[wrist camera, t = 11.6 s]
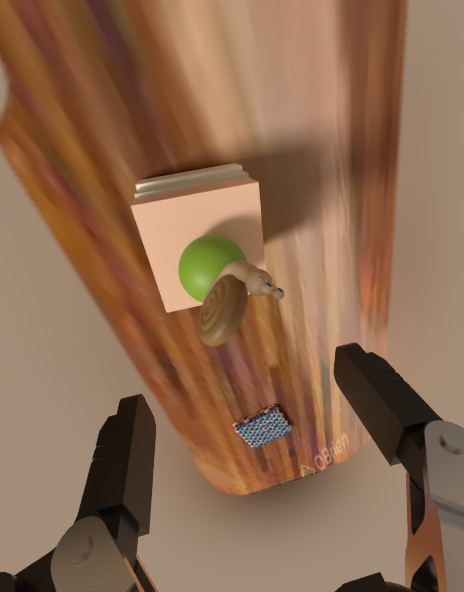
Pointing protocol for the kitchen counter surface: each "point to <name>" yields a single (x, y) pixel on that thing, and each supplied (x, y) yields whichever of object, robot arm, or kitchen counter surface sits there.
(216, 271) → the snail figurine
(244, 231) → the stacked pastel boxes
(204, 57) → the kitchen counter surface
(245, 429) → the woven mat
